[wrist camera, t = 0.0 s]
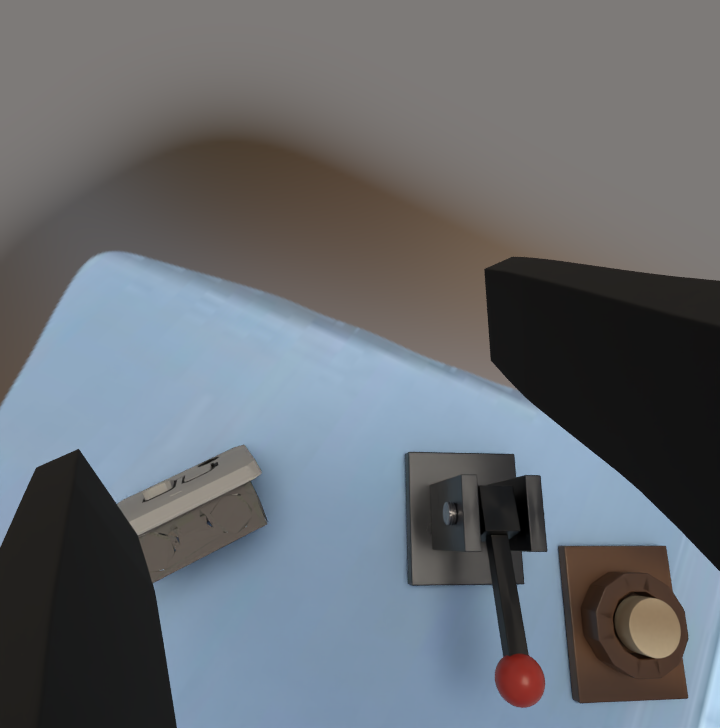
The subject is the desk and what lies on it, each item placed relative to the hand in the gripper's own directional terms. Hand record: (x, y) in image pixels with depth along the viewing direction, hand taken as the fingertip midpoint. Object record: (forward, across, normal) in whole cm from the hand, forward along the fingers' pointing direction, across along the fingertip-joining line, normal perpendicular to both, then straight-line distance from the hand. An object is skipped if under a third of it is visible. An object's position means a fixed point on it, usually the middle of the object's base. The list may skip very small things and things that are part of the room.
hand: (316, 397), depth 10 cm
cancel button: (+6, -18, +34) cm, 39 cm away
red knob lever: (+9, -9, +27) cm, 29 cm away
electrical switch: (+23, +5, +23) cm, 33 cm away
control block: (+7, -18, +36) cm, 41 cm away
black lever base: (+16, -11, +29) cm, 35 cm away
